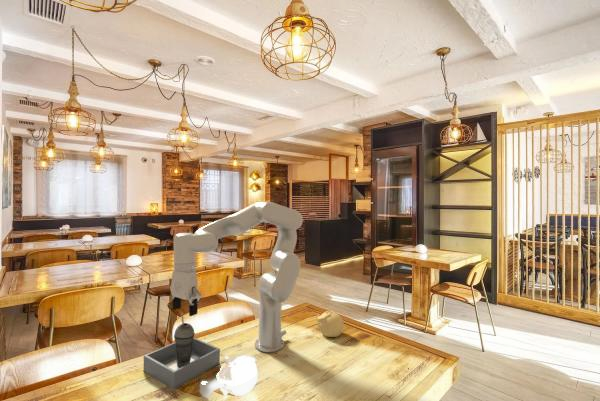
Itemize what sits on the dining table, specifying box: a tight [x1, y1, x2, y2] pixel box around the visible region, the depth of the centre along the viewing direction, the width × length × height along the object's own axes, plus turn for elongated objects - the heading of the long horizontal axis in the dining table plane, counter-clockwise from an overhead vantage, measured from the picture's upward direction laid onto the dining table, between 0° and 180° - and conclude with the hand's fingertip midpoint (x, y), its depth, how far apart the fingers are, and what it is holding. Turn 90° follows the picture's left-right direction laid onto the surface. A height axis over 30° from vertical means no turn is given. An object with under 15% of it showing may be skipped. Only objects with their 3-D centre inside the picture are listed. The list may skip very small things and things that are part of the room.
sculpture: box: [316, 310, 345, 338], centre depth 151 cm, size 12×12×11 cm
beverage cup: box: [173, 311, 196, 368], centre depth 119 cm, size 7×7×20 cm
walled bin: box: [143, 337, 221, 391], centre depth 119 cm, size 20×18×6 cm
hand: (184, 311), depth 119 cm, fingers open, 9 cm apart
